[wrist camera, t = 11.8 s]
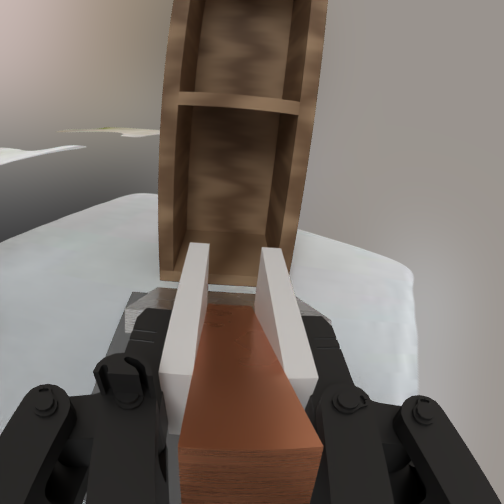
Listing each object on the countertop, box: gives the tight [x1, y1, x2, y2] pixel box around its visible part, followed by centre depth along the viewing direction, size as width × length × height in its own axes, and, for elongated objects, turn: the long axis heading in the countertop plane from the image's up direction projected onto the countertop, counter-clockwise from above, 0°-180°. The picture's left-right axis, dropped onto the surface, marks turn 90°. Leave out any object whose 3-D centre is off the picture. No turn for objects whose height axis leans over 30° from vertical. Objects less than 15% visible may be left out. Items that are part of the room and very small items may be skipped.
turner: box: [125, 287, 331, 504], centre depth 13 cm, size 10×19×2 cm, turn 3°
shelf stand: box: [158, 0, 328, 287], centre depth 25 cm, size 11×10×30 cm
